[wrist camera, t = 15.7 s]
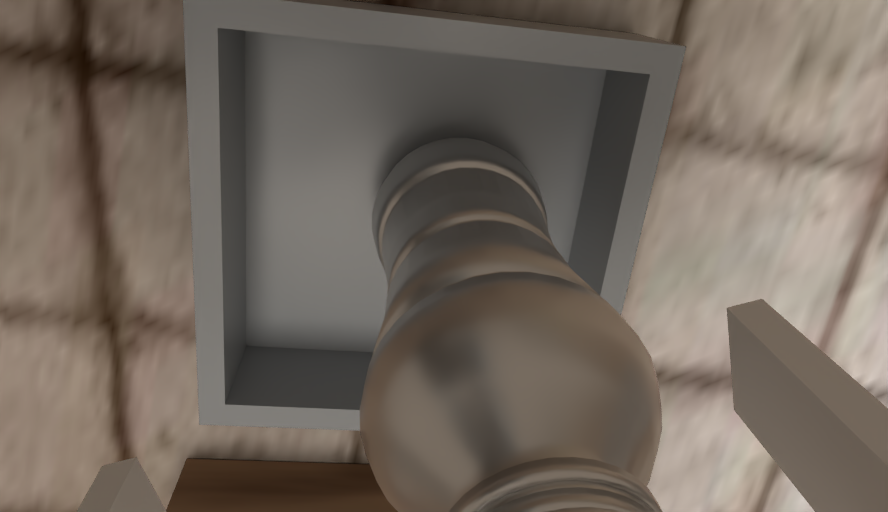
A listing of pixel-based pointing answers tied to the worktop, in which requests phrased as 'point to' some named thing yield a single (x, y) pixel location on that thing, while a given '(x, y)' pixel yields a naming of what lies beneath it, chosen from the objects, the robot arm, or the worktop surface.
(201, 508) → the walnut frame
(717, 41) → the worktop surface
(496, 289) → the plastic bottle
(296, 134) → the slate tray
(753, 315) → the robot arm
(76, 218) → the worktop surface
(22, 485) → the worktop surface
